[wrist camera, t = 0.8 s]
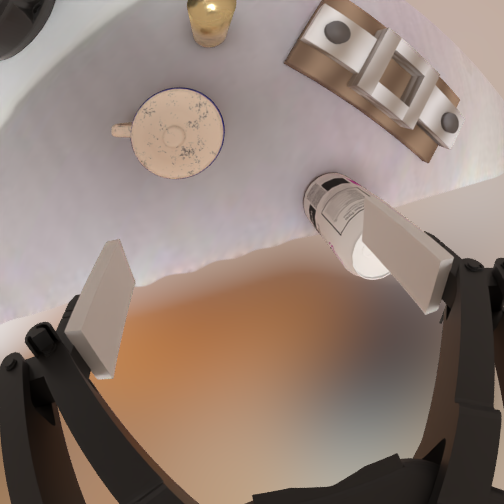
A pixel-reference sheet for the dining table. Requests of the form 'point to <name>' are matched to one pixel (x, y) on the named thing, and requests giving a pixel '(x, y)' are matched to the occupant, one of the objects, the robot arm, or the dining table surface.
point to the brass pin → (210, 20)
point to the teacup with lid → (175, 133)
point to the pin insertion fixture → (378, 76)
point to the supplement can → (343, 222)
